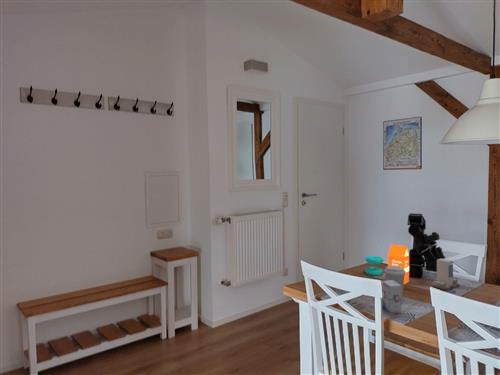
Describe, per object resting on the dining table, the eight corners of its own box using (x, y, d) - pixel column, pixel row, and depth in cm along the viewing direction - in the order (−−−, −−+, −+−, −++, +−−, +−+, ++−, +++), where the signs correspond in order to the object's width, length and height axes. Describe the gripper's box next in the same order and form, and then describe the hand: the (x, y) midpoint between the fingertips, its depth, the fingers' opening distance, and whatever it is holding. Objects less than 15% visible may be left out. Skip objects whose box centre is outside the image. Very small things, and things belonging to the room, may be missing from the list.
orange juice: (403, 284, 198) (404, 247, 197) (387, 281, 204) (387, 245, 203) (409, 281, 204) (409, 245, 203) (393, 278, 210) (393, 243, 209)
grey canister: (379, 298, 176) (379, 267, 175) (391, 294, 182) (391, 264, 181) (398, 304, 168) (398, 271, 168) (409, 299, 174) (409, 268, 174)
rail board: (445, 291, 186) (445, 284, 186) (431, 288, 192) (432, 281, 192) (459, 286, 194) (459, 279, 194) (446, 283, 200) (446, 276, 200)
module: (436, 284, 195) (436, 259, 194) (441, 282, 197) (441, 258, 197) (448, 287, 190) (448, 261, 189) (453, 285, 192) (453, 260, 192)
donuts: (386, 258, 216) (372, 259, 213) (386, 275, 216) (372, 276, 213) (376, 254, 225) (361, 256, 222) (376, 271, 226) (361, 272, 223)
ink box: (381, 305, 167) (382, 279, 166) (392, 305, 167) (392, 279, 167) (390, 313, 158) (390, 285, 158) (401, 312, 158) (402, 285, 158)
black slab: (450, 271, 218) (438, 247, 222) (428, 277, 226) (418, 253, 230) (452, 270, 220) (440, 246, 224) (430, 276, 229) (420, 252, 233)
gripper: (426, 229, 194) (446, 255, 188) (435, 225, 208) (454, 249, 202) (408, 240, 199) (427, 265, 194) (418, 236, 214) (436, 259, 208)
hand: (437, 259), depth 199 cm, fingers open, 9 cm apart
